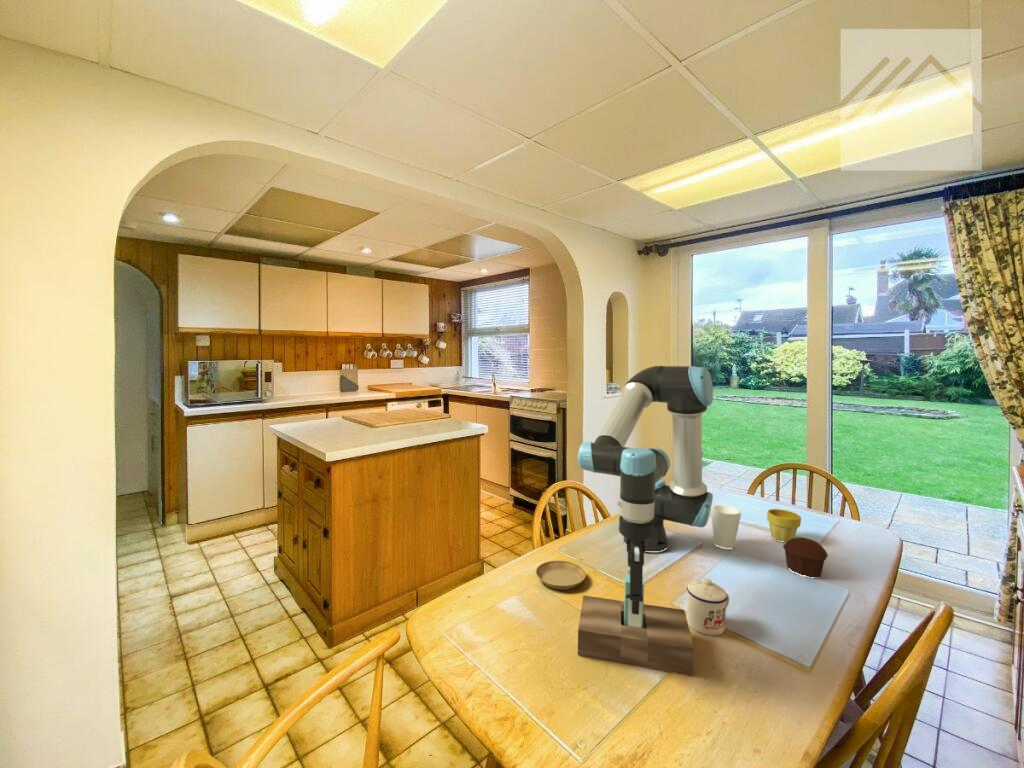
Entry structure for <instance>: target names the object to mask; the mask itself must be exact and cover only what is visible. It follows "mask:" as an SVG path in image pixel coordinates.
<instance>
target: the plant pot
mask: <svg viewBox="0 0 1024 768" xmlns="http://www.w3.org/2000/svg"><path fill="white" fill-rule="evenodd" d="M766 514H767V515H766V517H767V518H766V519H767V521H768V523H769V529H770V536H771V538H772V537H773V538H774V539H776V540H779V541H784V542H787V541H788V540H790V539H793V538H796V533H797V531H798V528H800V527H801V523H802V522H801V521H802V516H801V515H800V514H798V513H796V512H794V511H790V510H786V509H781V508H770V509H768V510H767V513H766ZM774 539H773V540H774Z"/></svg>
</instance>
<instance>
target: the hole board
mask: <svg viewBox="0 0 1024 768" xmlns="http://www.w3.org/2000/svg"><path fill="white" fill-rule="evenodd" d="M624 605H625V600H624V601H623V600H618V599H611V598H605V597H595V596H590V595H583V596H582V603H581V609H580V615H579V623H578V628H577V656H578V655H580V656H579V657H583V656H585V657H584V658H589V657H590V659H594V660H602V661H606V662H611V663H612V662H613V663H616V664H617V663H619V664H623V665H629V666H635V667H640V668H646V669H651V670H658V671H664V672H668V673H674V674H679V675H686V676H689V677H693V676H694V664H695V647H694V642H693V638H692V634H691V631H690V627H689V626H690V625H689V624H688V622H687V613H686V612H685V609H680V608H674V607H666V606H659V605H653V604H646V603H645V604H643V628H637V627H631V626H625V625H624Z"/></svg>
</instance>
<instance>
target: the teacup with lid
mask: <svg viewBox="0 0 1024 768" xmlns="http://www.w3.org/2000/svg"><path fill="white" fill-rule="evenodd" d="M686 590H687V605H686V606H687V607H686V609H687V610H686V618H687V622H688V626H690V628H692V629H693V630H694V631H696V632H698V633H700V634H702V635H706V636H707V635H708V636H719V635H721V634H723V633H724V631H725V630H726V614H727V613H726V610H727V608H728V606H729V602H730V595H729V593H728V592H727V591H726V590H725V589H724V588H723V587H721V586H720V585H718V584H717V583H714V582H712V580H711V578H708V577H705V578H703V579H700V580H697V579H696V580H693V581H690V582H689V584H687V587H686Z"/></svg>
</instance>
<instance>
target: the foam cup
mask: <svg viewBox="0 0 1024 768" xmlns="http://www.w3.org/2000/svg"><path fill="white" fill-rule="evenodd" d="M741 515H742V511H741V510H740V509H738V508H736V507H734V506H730V505H724V504H714V505H711V510H710V516H711V524H712V525H711V527H712V535H713V543H715V544H716V545H718V546H721V547H725V548H732V547H734V548H735V545H736V542H737V541H736V539H737V535H738V530H739V525H740V522H741V517H742V516H741ZM715 544H714V545H715Z"/></svg>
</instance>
